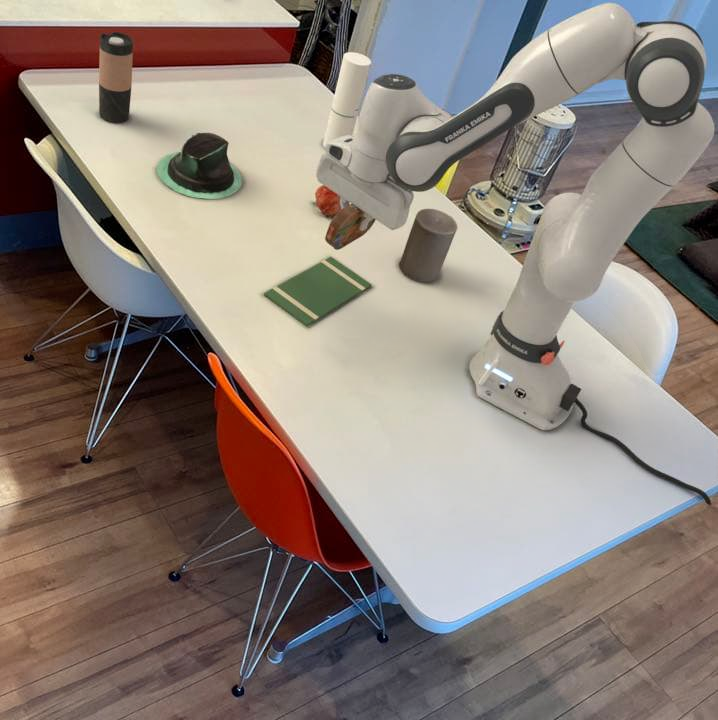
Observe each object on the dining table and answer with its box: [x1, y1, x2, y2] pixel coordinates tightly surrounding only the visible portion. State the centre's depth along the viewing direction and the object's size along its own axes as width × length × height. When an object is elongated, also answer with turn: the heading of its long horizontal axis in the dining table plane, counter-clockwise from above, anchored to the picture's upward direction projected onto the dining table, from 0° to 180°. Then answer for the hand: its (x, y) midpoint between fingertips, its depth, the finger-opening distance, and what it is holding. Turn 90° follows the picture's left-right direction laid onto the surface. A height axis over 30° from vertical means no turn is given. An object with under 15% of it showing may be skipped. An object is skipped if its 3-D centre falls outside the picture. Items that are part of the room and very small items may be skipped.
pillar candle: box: [398, 208, 458, 283], centre depth 176 cm, size 10×10×15 cm
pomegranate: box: [312, 184, 342, 216], centre depth 187 cm, size 7×7×10 cm
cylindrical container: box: [322, 51, 372, 149], centre depth 205 cm, size 7×7×25 cm
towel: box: [263, 256, 373, 327], centre depth 166 cm, size 12×22×1 cm, turn 142°
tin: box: [324, 203, 377, 251], centre depth 151 cm, size 15×3×8 cm, turn 144°
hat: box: [156, 132, 243, 200], centre depth 186 cm, size 15×19×20 cm
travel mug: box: [98, 31, 134, 124], centre depth 190 cm, size 8×8×20 cm
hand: (353, 223), depth 152 cm, fingers closed on tin, 2 cm apart
